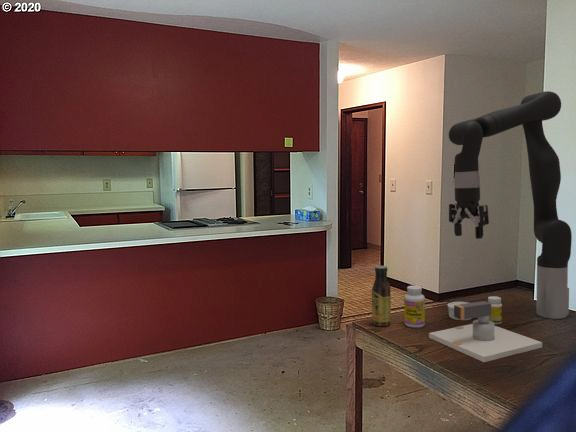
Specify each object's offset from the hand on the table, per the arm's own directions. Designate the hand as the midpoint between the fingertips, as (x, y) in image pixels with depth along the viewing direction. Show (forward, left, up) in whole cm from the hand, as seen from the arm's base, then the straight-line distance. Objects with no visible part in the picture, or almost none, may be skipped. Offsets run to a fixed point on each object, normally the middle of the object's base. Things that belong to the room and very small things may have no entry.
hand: (468, 237), depth 156 cm
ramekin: (-6, -10, -30) cm, 32 cm away
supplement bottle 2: (-11, 0, -30) cm, 32 cm away
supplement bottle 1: (+13, -11, -30) cm, 34 cm away
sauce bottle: (+22, -17, -30) cm, 41 cm away
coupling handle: (+10, +11, -23) cm, 28 cm away
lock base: (+6, +12, -30) cm, 32 cm away
